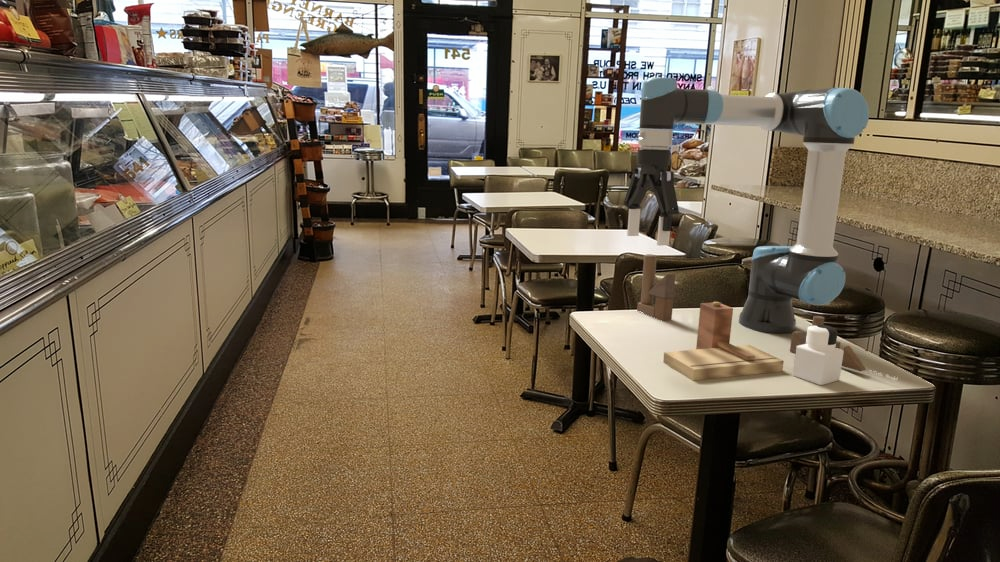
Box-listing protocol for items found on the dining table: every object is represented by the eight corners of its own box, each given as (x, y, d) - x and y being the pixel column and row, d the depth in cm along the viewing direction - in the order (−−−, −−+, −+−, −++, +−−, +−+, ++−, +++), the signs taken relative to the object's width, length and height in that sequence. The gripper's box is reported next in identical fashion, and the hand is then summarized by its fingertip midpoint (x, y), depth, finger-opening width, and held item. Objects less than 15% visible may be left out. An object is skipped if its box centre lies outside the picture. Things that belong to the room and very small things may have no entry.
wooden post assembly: (662, 323, 193) (668, 261, 189) (636, 314, 202) (640, 254, 198) (672, 321, 195) (677, 260, 191) (645, 312, 204) (650, 253, 200)
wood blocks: (789, 352, 171) (794, 312, 169) (794, 350, 173) (799, 311, 171) (894, 382, 152) (902, 338, 150) (899, 380, 154) (907, 336, 151)
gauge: (713, 348, 172) (718, 299, 169) (758, 371, 156) (764, 317, 154) (696, 349, 171) (700, 300, 168) (740, 373, 155) (746, 318, 152)
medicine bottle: (810, 370, 158) (817, 320, 155) (840, 380, 152) (847, 328, 149) (791, 375, 154) (798, 324, 152) (821, 386, 148) (828, 333, 146)
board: (748, 354, 168) (749, 344, 167) (782, 371, 157) (783, 360, 156) (663, 362, 160) (664, 351, 160) (693, 380, 149) (694, 369, 149)
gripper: (613, 146, 166) (608, 232, 171) (670, 150, 143) (662, 249, 148) (641, 146, 169) (634, 231, 173) (700, 150, 146) (691, 249, 150)
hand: (647, 240), depth 160 cm, fingers open, 13 cm apart
